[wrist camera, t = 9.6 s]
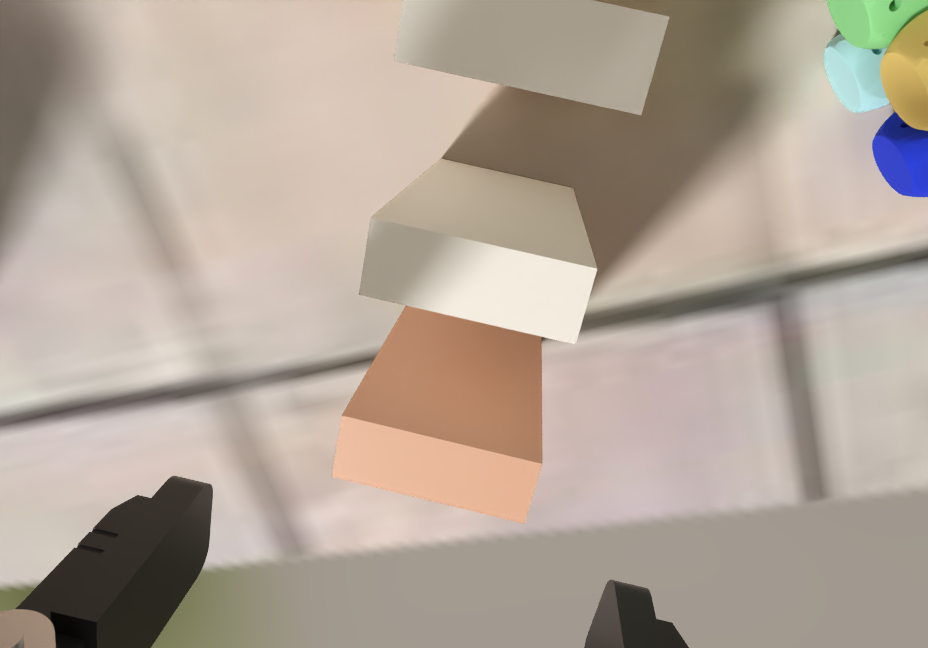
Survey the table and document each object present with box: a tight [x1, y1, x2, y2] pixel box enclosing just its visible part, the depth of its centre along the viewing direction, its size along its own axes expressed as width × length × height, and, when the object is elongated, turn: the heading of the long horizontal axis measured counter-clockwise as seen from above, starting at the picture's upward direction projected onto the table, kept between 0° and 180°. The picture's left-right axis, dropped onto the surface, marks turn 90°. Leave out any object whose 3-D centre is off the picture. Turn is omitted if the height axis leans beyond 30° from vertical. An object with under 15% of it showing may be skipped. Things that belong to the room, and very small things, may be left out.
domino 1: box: [394, 0, 670, 115], centre depth 18 cm, size 2×5×11 cm, turn 78°
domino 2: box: [359, 159, 597, 344], centre depth 20 cm, size 2×5×11 cm, turn 78°
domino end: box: [332, 306, 542, 524], centre depth 22 cm, size 2×5×11 cm, turn 78°
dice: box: [824, 0, 928, 197], centre depth 19 cm, size 8×3×6 cm, turn 30°
